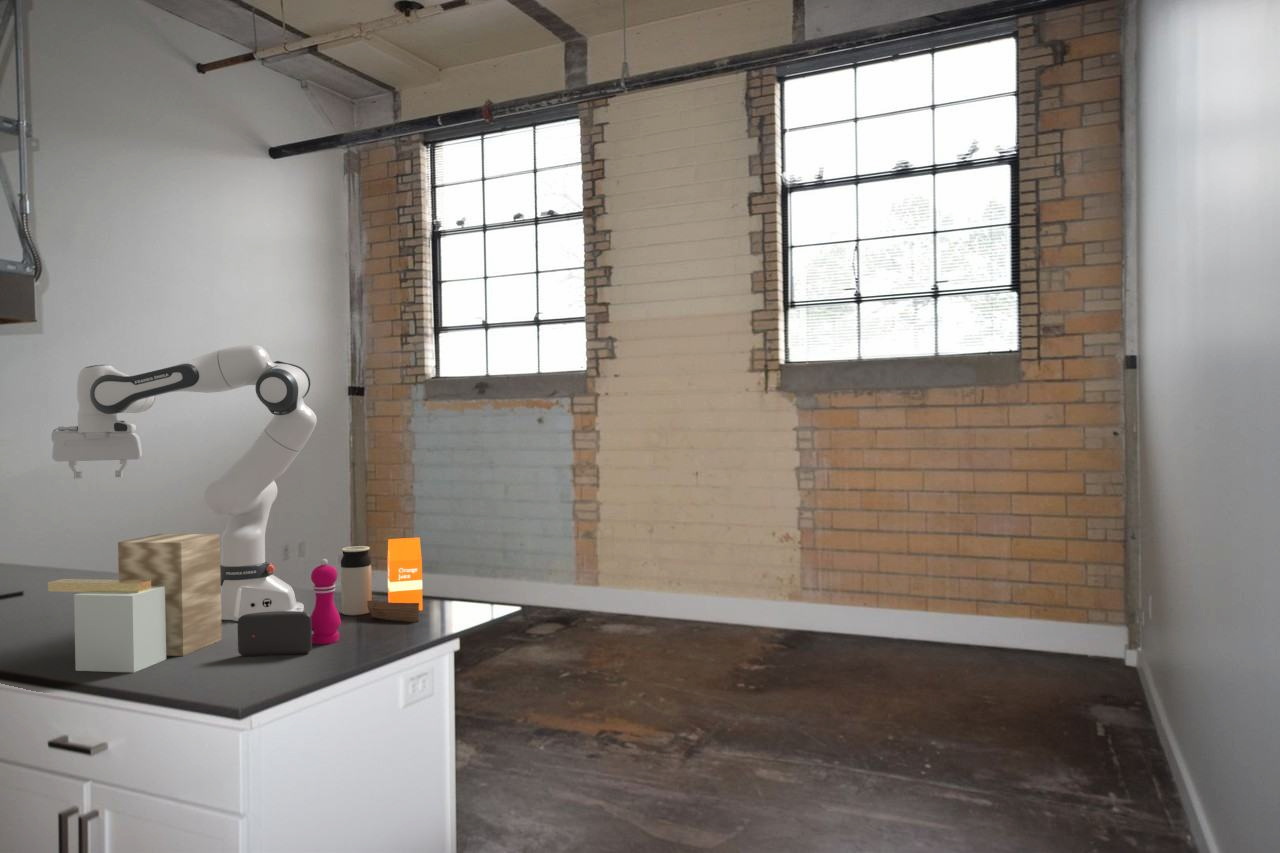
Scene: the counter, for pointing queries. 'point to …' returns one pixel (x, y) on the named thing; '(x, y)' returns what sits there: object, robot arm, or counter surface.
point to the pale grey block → (119, 630)
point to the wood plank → (394, 611)
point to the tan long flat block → (99, 585)
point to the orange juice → (405, 571)
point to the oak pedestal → (180, 584)
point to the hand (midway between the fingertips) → (98, 477)
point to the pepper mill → (324, 605)
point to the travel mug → (355, 580)
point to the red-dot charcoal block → (274, 633)
